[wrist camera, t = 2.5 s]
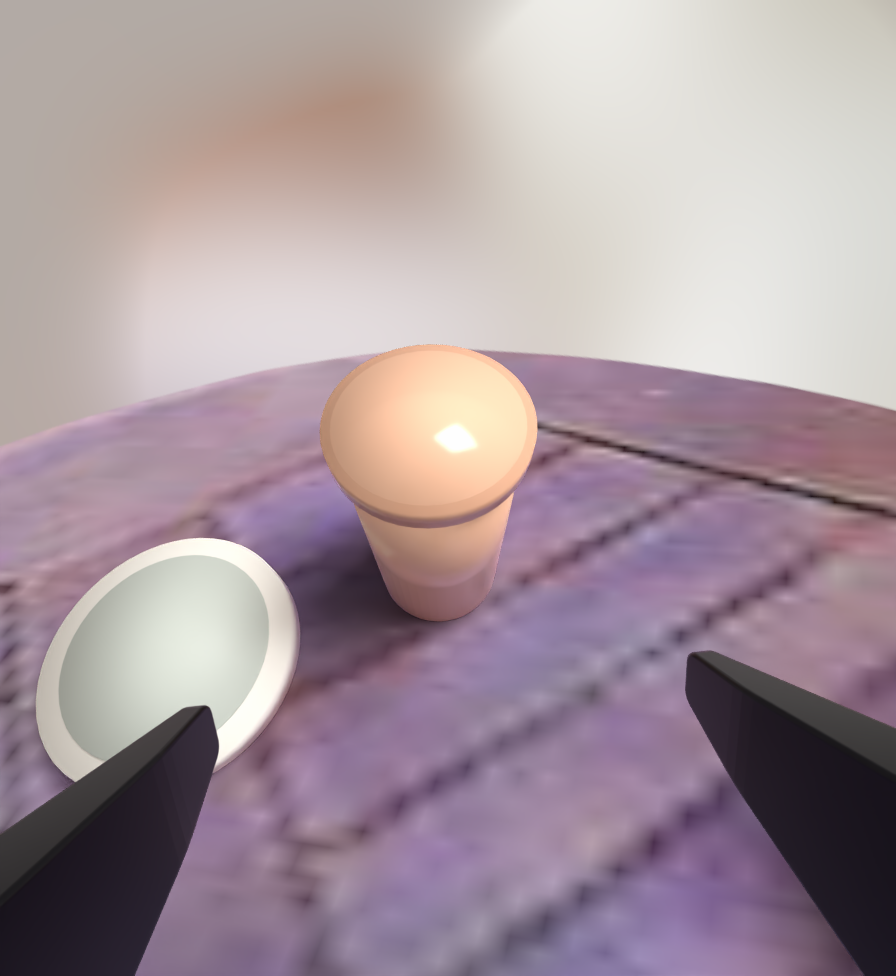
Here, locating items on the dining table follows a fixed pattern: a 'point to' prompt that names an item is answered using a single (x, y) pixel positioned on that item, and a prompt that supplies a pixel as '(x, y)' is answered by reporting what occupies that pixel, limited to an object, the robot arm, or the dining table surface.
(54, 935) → the robot arm
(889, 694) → the dining table surface
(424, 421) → the peach domed cylinder
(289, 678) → the round white dish
